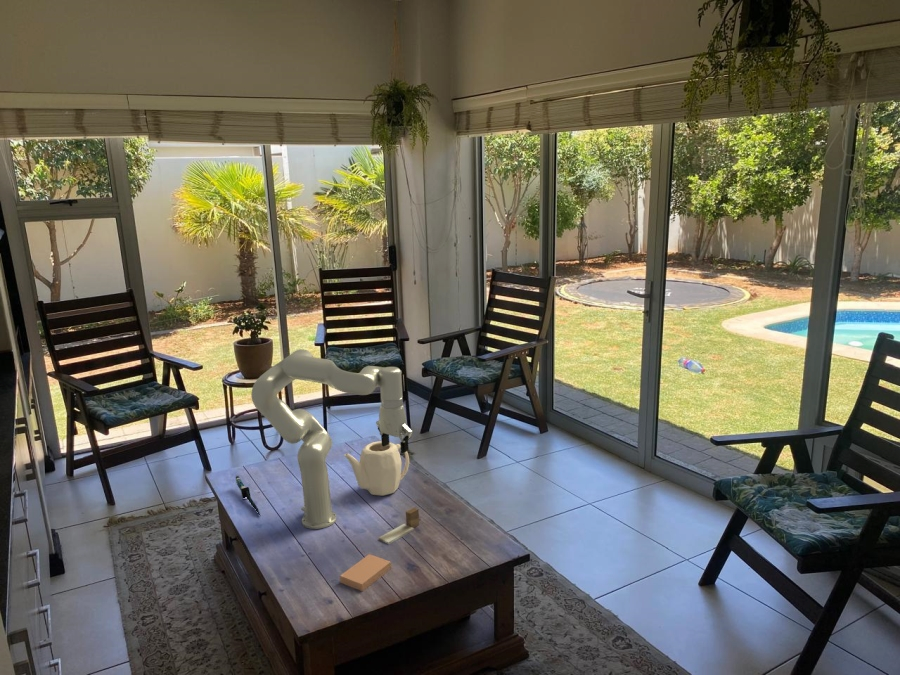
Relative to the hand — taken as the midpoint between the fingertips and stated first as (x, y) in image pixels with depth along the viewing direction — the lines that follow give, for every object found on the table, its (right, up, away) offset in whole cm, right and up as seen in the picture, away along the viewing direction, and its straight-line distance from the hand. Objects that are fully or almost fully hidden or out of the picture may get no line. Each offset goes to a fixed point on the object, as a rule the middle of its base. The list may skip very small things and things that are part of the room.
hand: (395, 448), depth 238 cm
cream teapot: (-9, -22, +31) cm, 39 cm away
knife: (-60, -26, +26) cm, 70 cm away
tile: (-3, -33, -20) cm, 39 cm away
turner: (+2, -29, -1) cm, 29 cm away
